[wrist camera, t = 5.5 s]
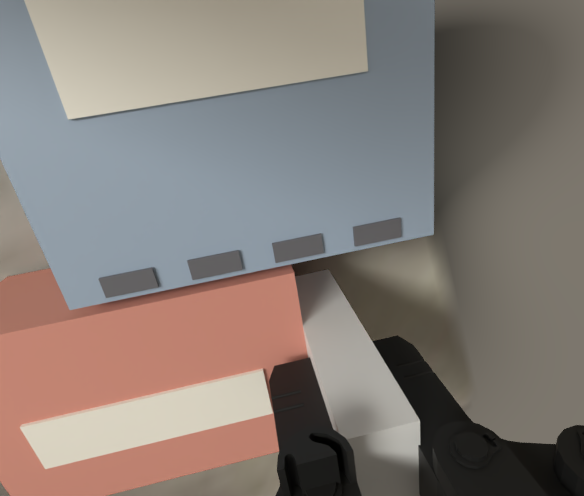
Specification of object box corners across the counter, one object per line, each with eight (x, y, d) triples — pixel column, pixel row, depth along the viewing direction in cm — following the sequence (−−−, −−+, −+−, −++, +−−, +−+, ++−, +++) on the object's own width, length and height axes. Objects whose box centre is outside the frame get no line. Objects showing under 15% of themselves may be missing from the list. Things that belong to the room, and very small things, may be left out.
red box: (76, 410, 14) (23, 519, 11) (7, 276, 12) (-94, 356, 8) (299, 358, 15) (322, 443, 11) (275, 224, 13) (295, 274, 9)
